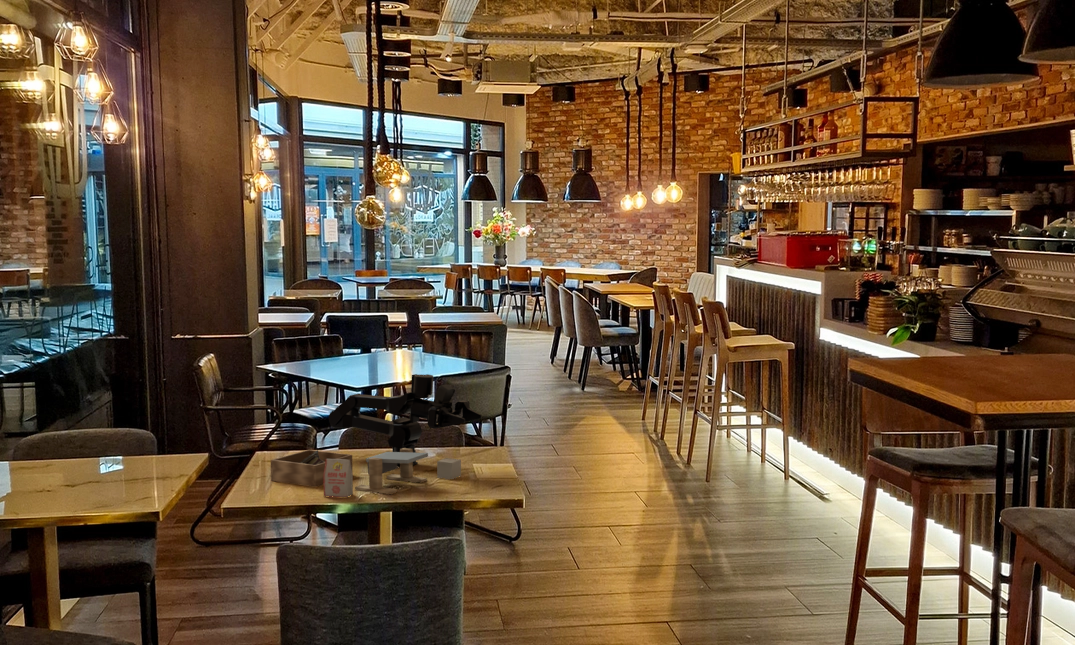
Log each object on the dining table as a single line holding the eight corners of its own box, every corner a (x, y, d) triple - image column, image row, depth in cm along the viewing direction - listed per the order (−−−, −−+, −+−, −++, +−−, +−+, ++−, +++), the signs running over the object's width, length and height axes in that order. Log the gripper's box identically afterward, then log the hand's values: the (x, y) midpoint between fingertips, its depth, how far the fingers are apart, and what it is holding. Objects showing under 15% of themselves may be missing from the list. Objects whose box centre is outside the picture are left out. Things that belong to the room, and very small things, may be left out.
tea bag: (329, 493, 254) (328, 457, 253) (352, 494, 252) (352, 458, 252) (323, 496, 250) (323, 460, 249) (347, 498, 249) (346, 461, 248)
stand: (355, 489, 258) (354, 457, 257) (392, 476, 273) (392, 446, 273) (390, 494, 252) (390, 461, 252) (426, 480, 268) (426, 450, 267)
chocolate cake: (298, 485, 265) (327, 453, 269) (283, 475, 269) (311, 443, 273) (314, 501, 272) (341, 469, 276) (299, 491, 276) (326, 459, 280)
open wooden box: (271, 480, 268) (270, 460, 268) (309, 469, 283) (308, 449, 282) (315, 486, 261) (315, 465, 260) (352, 474, 275) (352, 454, 275)
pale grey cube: (437, 478, 272) (437, 461, 271) (446, 474, 276) (446, 457, 276) (451, 480, 270) (451, 462, 269) (460, 476, 274) (460, 459, 274)
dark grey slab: (367, 474, 260) (365, 458, 260) (388, 467, 269) (387, 451, 269) (408, 476, 254) (407, 459, 254) (428, 469, 263) (427, 453, 263)
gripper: (413, 386, 274) (458, 395, 267) (448, 380, 290) (491, 388, 283) (410, 424, 275) (455, 433, 268) (445, 416, 291) (488, 424, 284)
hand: (473, 418), depth 276 cm, fingers open, 9 cm apart
